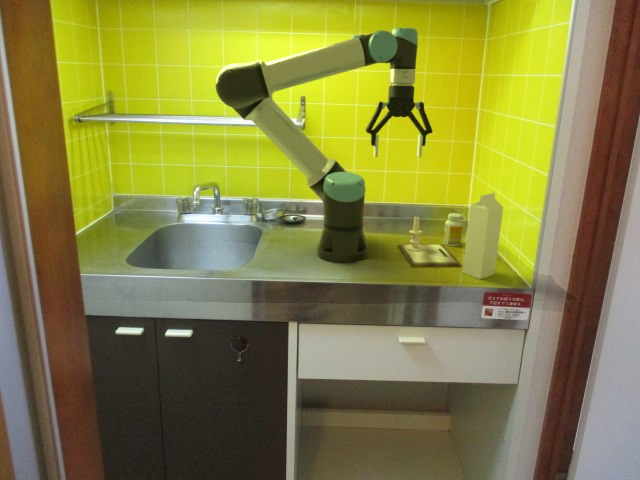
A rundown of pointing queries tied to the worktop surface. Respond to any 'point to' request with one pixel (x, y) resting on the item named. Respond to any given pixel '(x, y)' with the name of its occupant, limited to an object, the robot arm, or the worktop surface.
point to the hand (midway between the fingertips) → (397, 156)
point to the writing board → (429, 256)
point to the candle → (415, 237)
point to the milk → (483, 237)
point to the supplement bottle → (453, 230)
